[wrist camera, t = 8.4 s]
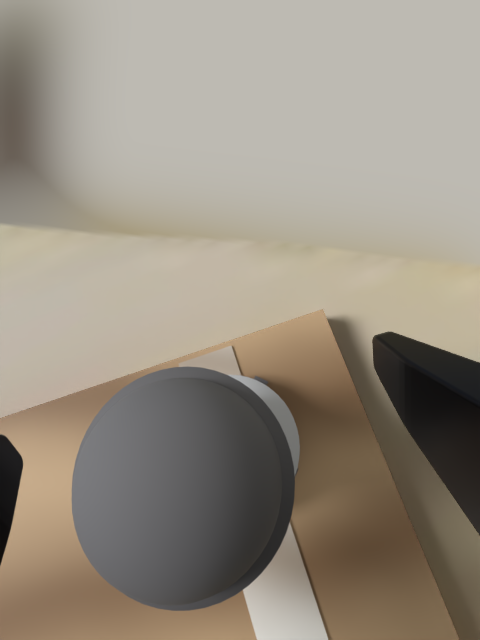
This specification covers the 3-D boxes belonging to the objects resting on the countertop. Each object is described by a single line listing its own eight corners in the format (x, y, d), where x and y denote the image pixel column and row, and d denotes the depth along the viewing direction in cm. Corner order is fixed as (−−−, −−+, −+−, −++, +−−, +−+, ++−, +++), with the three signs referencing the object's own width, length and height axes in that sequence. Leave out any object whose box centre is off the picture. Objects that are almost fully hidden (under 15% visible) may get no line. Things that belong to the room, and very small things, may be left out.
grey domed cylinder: (288, 526, 14) (362, 852, 3) (155, 501, 14) (-133, 717, 4) (303, 387, 15) (389, 317, 5) (181, 369, 16) (15, 270, 5)
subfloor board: (489, 738, 13) (520, 783, 12) (-137, 970, 13) (-195, 1050, 11) (318, 318, 18) (323, 308, 16) (-151, 476, 17) (-193, 482, 15)
